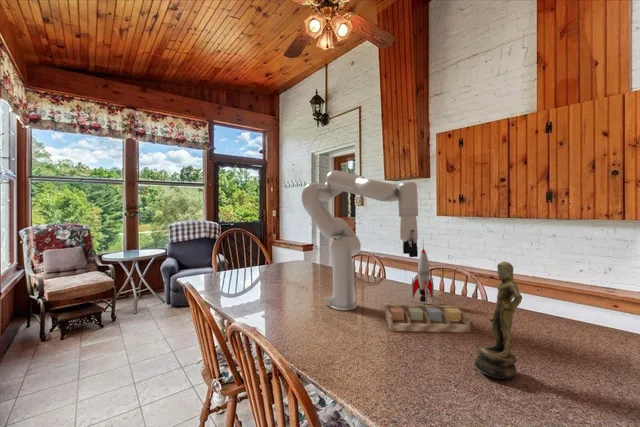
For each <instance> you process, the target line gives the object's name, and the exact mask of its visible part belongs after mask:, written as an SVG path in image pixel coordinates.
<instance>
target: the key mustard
mask: <svg viewBox="0 0 640 427" xmlns="http://www.w3.org/2000/svg"><path fill="white" fill-rule="evenodd" d="M445 315H446V316H447V317H448V318H449V320H461V312H460V311H459V310H458V309H452V308H445Z"/></svg>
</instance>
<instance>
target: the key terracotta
mask: <svg viewBox="0 0 640 427" xmlns="http://www.w3.org/2000/svg"><path fill="white" fill-rule="evenodd" d="M390 312H391V314H392V319H404V311H403V309H402V308H390Z"/></svg>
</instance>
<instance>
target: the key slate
mask: <svg viewBox="0 0 640 427" xmlns="http://www.w3.org/2000/svg"><path fill="white" fill-rule="evenodd" d="M427 316H428V318H429V319H430V320H442V312H441V311H440V310H439V309H438V308H427Z"/></svg>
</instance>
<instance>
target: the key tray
mask: <svg viewBox="0 0 640 427" xmlns="http://www.w3.org/2000/svg"><path fill="white" fill-rule="evenodd" d="M384 307H385V308H384V309H385V310H384V316H385V320H386V322H387V326H388V327H389V331H392V332H426V333H427V332H429V333H430V332H433V333H434V332H436V333H437V332H439V333H471V325H470V317H469V316H468V315H467V314H466V313H464V311H463V310H461V309H460V308H459V307H458V306H457V305H427V306H426V305H418V304H417V305H414V304H413V305H412V304H411V305H410V304H407V305H405V304H400V305H399V304H384ZM390 308H402V309H403V311H404V319H392V314H391V312H390ZM408 308H420V309H421V310H422V311H423V320H411V319H410V317H409V316H408ZM427 308H438V309H439V310H440V311H441V312H442V320H430V319H429V318H428V316H427ZM445 308H452V309H458V310H459V311H460V312H461V320H449V318H448V317H447V316H446V315H445Z"/></svg>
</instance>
